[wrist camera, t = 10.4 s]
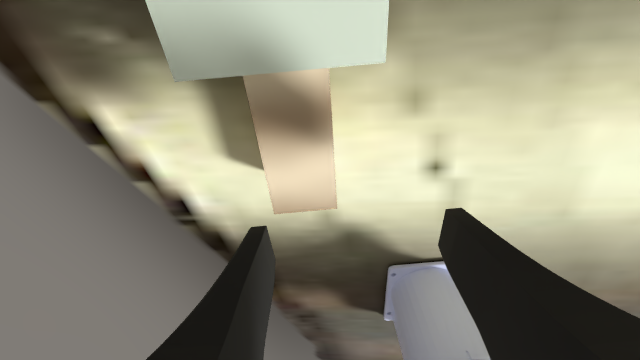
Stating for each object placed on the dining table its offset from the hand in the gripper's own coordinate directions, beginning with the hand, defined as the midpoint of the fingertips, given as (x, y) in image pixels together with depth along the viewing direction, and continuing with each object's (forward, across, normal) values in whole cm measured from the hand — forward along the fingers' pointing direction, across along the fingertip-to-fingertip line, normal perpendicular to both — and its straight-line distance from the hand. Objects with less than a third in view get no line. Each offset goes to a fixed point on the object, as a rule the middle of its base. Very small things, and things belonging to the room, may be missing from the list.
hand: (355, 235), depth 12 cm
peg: (+10, +2, -3) cm, 11 cm away
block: (+10, +2, -8) cm, 13 cm away
